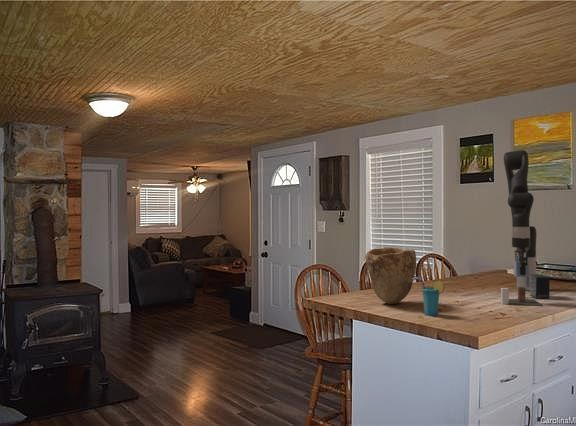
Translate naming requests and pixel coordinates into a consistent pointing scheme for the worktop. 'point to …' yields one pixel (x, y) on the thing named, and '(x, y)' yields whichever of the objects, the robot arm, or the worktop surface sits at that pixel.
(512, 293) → the worktop surface
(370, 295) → the worktop surface
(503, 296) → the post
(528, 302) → the dark grey square tray
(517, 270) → the blue-grey block
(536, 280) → the small box
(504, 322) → the worktop surface
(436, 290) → the cup
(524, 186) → the robot arm
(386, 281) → the bowl
